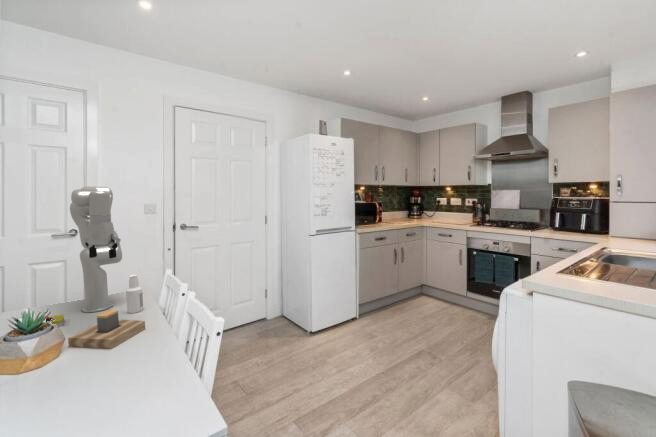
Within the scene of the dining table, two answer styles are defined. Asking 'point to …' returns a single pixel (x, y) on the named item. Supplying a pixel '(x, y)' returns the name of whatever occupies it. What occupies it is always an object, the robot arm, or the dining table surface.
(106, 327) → the key peg
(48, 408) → the dining table surface
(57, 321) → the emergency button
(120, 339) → the socket block
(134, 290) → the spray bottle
